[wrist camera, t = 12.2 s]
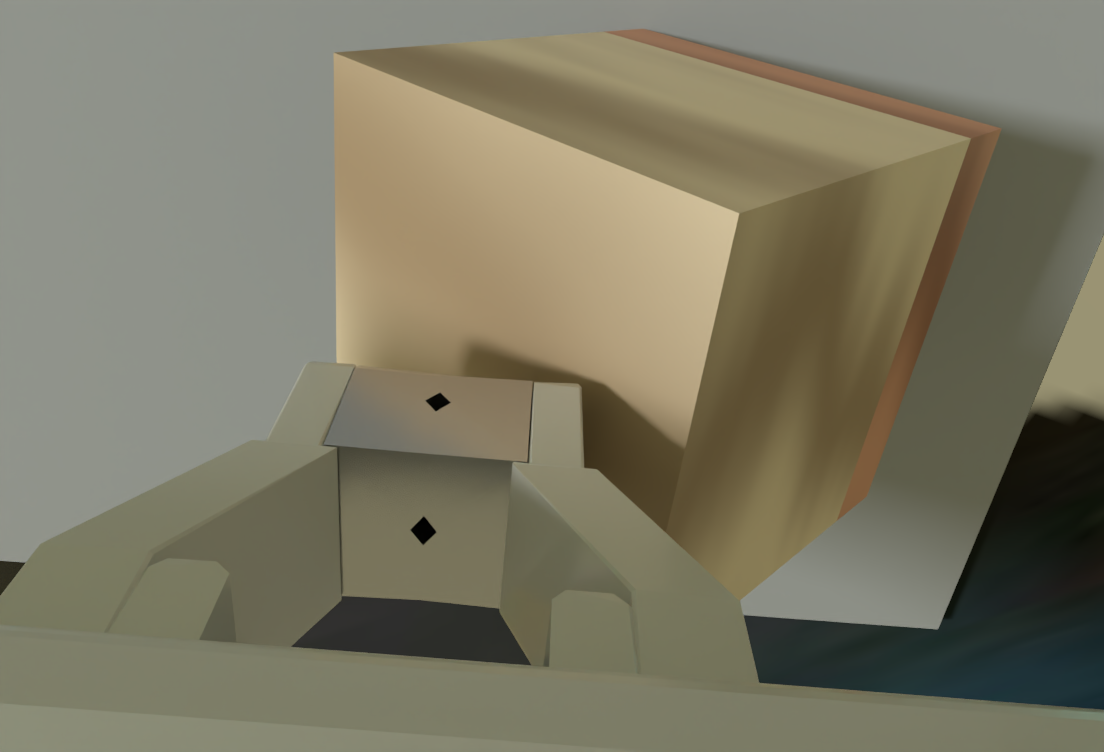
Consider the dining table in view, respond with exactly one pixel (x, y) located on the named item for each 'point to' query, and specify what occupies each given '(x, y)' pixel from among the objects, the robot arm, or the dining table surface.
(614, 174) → the birch block
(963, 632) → the dining table surface
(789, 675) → the dining table surface
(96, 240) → the slate mat
